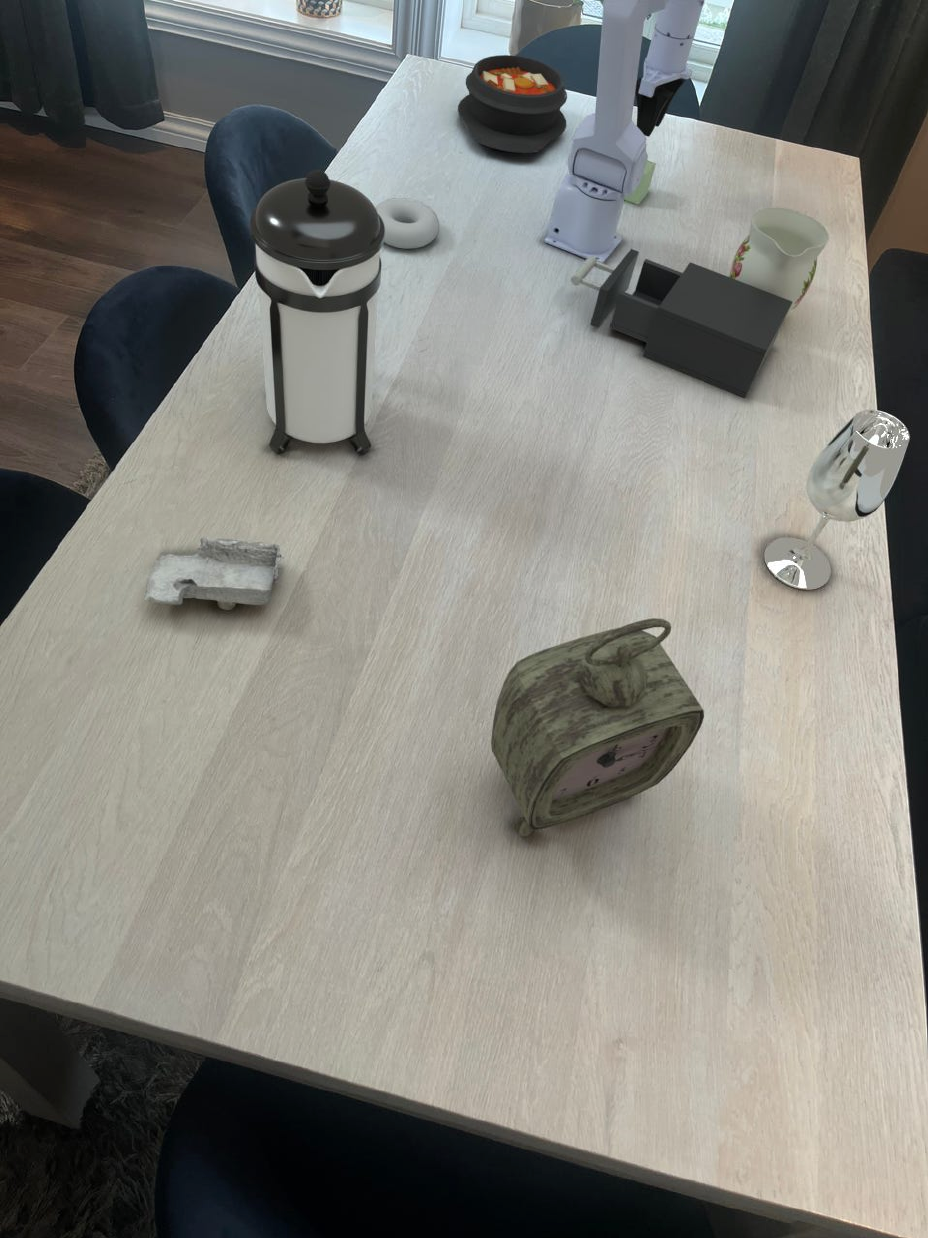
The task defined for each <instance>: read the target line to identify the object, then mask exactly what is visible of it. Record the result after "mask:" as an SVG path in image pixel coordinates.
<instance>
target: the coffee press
mask: <svg viewBox="0 0 928 1238" xmlns="http://www.w3.org/2000/svg"><path fill="white" fill-rule="evenodd" d="M375 207H376V206H375V205H374V203H372V201H371V200H370V199H369V198H368V197H367V196H366V195H365V194H364V193H363V192H362V191H360V190H358V189H357V188H355V187H353V186H351V185H349V184H346V183H344V182H340V181H338V180H334V179H330V178H329V176H328V175H327V173H326V172H325V171H323V170H321V169H313V170H311V171H310V172H308V174H307V176H306V177H300V178H295V179H290V180H287V181H284V182H281V183H279V184H277V185H275V186H274V187H272V188H270V189H269V190H268V191H266V192H265V193H264V194H263V196H262V197H261V198H260V200H259V201H258V204H257V205H256V206H255V208H254V209H253V211H252V213H251V215H250V218H249V229H250V235H251V238H252V240H253V241H254V243H255V251H254V254H253V255H254V256H253V263H254V276H255V281H256V283H257V285H258V286H257V287H258V302H259V315H260V328H261V329H260V330H261V332H260V333H261V346H262V361H263V374H264V375H263V377H264V389H265V390H264V391H265V401H266V402H265V403H266V409H267V413H268V415H269V418H270V419H271V421H272V422H273V424H274V425H275V426H274V427H275V428H274V431H273V434H272V436H271V439H270V440H269V443H268V444H269V445H268V446H269V448H271V449H272V450H273V451H274V452H276V453H278V454H283V453H284V452H285V451H286V450H287V448H288V447H289V445H290V443H291V441H292V440H293V439H296V440H299V441H303V442H307V443H313V444H330V443H337V442H339V441H343V440H346V439H347V440H348V441H349V443H350V444H351V446H352V447H353V449H354V451H355V452H356V453H357V454H358V455H364V453H366V452H367V451H369V450H370V449H371V448H372V443H371V441H370V439H369V436H368V434H367V432H366V428H365V426H366V424H367V423H368V421H369V419H370V417H371V414H372V407H373V395H374V394H373V393H374V376H375V358H376V357H375V355H376V338H377V337H376V335H377V315H378V299H379V298H378V297H379V294H378V293H379V288H380V286H381V280H382V258H381V255H380V254H381V249H382V247H383V245H384V244H385V242H384V237H385V227H384V223H383V221H382V219H381V217H380V216H379V214H378V213H377V211H376V209H375Z"/></svg>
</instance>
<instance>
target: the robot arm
mask: <svg viewBox="0 0 928 1238" xmlns="http://www.w3.org/2000/svg"><path fill="white" fill-rule="evenodd" d="M602 3H603V4H602V16H601V17H602V18H601V33H600V44H599V45H600V46H599V56H598V57H599V59H598V72H597V82H596V83H597V84H596V95H595V97H596V98H595V108H594V113H591V114H589V115H587V116H586V117H585V118H584V119H583V120H582V121H581V123H580V124H579V125H578V127H577V128H576V131H575V132H574V134H573V136H572V140H571V141H572V144H571V148H570V151H569V154H568V159H567V168H568V173H566V174H565V176H564V177H563V178H562V180H561V182H560V184H559V186H558V187H557V188H558V189H557V191H556V194H555V197H554V201H553V206H552V210H551V215H550V221H549V226H548V230H547V235H546V237H545V238H544V242H545V243H546V244H549V245H551V246H553V247H556V248H558V249H562V250H564V251H566V252H569V253H571V254H573V255H576V256H579V257H581V258H583V259H585V260H586V259H587V258H588V257H589V256H594V257H596V259H597V261H598V262H600V263H603V264H605V261H606V260H607V259H608V258H609V257H610V255H611V254H612V253H613V252H614V250H615V249H616V248H618V246H619V245H620V243H621V242H622V238H621V237H620V236H617V235H616V232H617V228H618V224H619V222H620V221H619V220H620V216H621V214H622V210H623V206H624V202H625V200H624V198H625V195H626V196H629V195H630V194H632V193H633V192H634V191H635V190H636V189H637V187H638V185H639V183H640V181H641V179H642V176H643V173H644V171H645V167H646V164H647V160H648V158H649V157H648V153H647V138H649V137H650V136H651V135H652V133H653V132H654V129H655V127H657V128H658V127H659V126H660V125H661V124H662V122H663V120H664V118H665V116H666V114H667V112H668V110H669V107H670V106H671V104H672V101H673V100H674V98H675V96H676V94H677V93H678V91H679V90H680V89H681V87H682V86H683V85H684V83H685V82H686V81H687V80H689V79H690V78H691V77H692V76H693V70H692V69H691V68H688V67H687V63H688V60H689V57H690V52H691V49H692V46H693V42H694V38H695V35H696V32H697V28H698V24H699V21H700V18H701V14H702V11H703V7H704V4H705V0H603V1H602ZM655 13H657V16H656V20H655V24H654V28H653V32H652V35H651V40H650V44H649V48H648V52H647V56H646V57H645V59H644V62H643V73H642V74H643V75H642V77H639V78H638V74H639V67H640V58H641V50H642V42H643V34H644V26H645V21H646V19H647V17H648V16H649V15H653V14H655ZM635 98H636V110H637V111H636V124H635V122H634V121H633V114H634V105H635V104H634V103H635Z"/></svg>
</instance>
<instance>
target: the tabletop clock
mask: <svg viewBox="0 0 928 1238" xmlns="http://www.w3.org/2000/svg"><path fill="white" fill-rule="evenodd" d="M653 628H654V629H655V628H662V629H664V630H663V631H662V632H661V633H660V634H659V635H658V636H656V635H654V634H651V633H649V632H647V631H645V630H649V629H653ZM671 632H672V624H671V623H670V621H668V620H666V619H664V618H657V617H656V618H655V617H653V618H647V619H641V620H638V621H635V622H631V623H627V624H625V625H623V626H620V627H616V628H611V629H608V630H605V631H600V632H597V633H593V634H589V635H585V636H581V637H578V638H575V639H572V640H569V641H567V642H562V643H560V644H556V645H553V646H551V647H548V648H545V649H542V650H539V651H537V652H534V653H532V654H529V655H526V656H525V657H523V658H522V659H520V660H517V661H516V662H515V663H514V665H513V666H512V668H511V669H510V670H509V671H508V673H507V675H506V677H505V679H504V680H503V683H502V687H501V690H500V692H499V695H498V698H497V701H496V704H495V710H494V715H493V722H492V731H491V740H490V743H491V745H490V746H491V752H492V754H493V756H494V758H495V760H496V762H497V764H498V766H499V768H500V770H501V772H502V774H503V776H504V778H505V780H506V782H507V784H508V786H509V788H510V790H511V792H512V794H513V797H514V798H515V800H516V802H517V804H518V806H519V808H520V810H521V813H522V815H523V816H521V817H518V819H516V821H515V823H514V830H515V831H516V832H515V833H517V834H518V836H521V837H527V836H529V835H530V834H532V832H533V831H538V830H542V829H547V828H550V827H554V826H556V825H560V824H563V823H566V822H568V821H569V822H570V821H572V820H574V819H577V818H581V817H583V816H587V815H588V814H592V813H595V812H597V811H600V810H602V809H605V808H608V807H610V806H612V805H615V804H618V803H620V802H622V801H625V800H628V799H631V798H633V797H634V796H637V795H639V794H642V793H643V792H645V791H647V790H649V789H651V788H653V787H655V786H657V785H659V783H661V782H662V781H663V780H665V778H667V776H668V775H669V774H670V773H671V772H672V771H673V770H674V768H675V767H676V766H677V765H678V763H680V761H681V759H682V758H683V757H684V755H685V754H686V753H687V752H688V750H689V749H690V747H691V746H692V744H693V742H694V740H695V738H696V736H697V735H698V733H699V731H700V729H701V727H702V724H703V722H704V718H705V711H704V708H703V706H702V705H701V704H700V702H699V701H698V699H697V697H696V696H695V694H694V693H693V691H692V690H691V688H690V687H689V685H688V684H687V682H686V681H685V680H684V678H683V676H682V674H681V673H680V672H679V670H678V668H677V667H676V665H675V664H674V661H672V659H671V657H670V656H669V655H668V653H667V652H666V650H665V648H664V647H663V645H662V643H663V642H664V641H665V640H666V639H667V638H668V637H669V635H670V634H671Z"/></svg>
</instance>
